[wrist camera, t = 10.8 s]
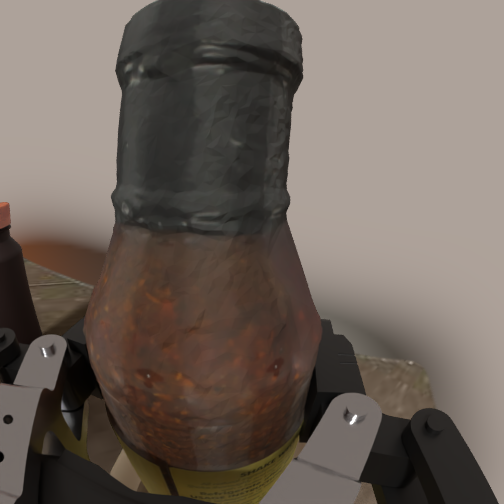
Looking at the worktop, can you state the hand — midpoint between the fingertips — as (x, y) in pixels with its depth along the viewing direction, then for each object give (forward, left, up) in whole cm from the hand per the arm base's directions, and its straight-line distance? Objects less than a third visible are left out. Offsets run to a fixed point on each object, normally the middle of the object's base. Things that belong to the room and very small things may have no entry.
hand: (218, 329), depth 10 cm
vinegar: (-27, +8, -18) cm, 34 cm away
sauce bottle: (0, -3, -11) cm, 11 cm away
